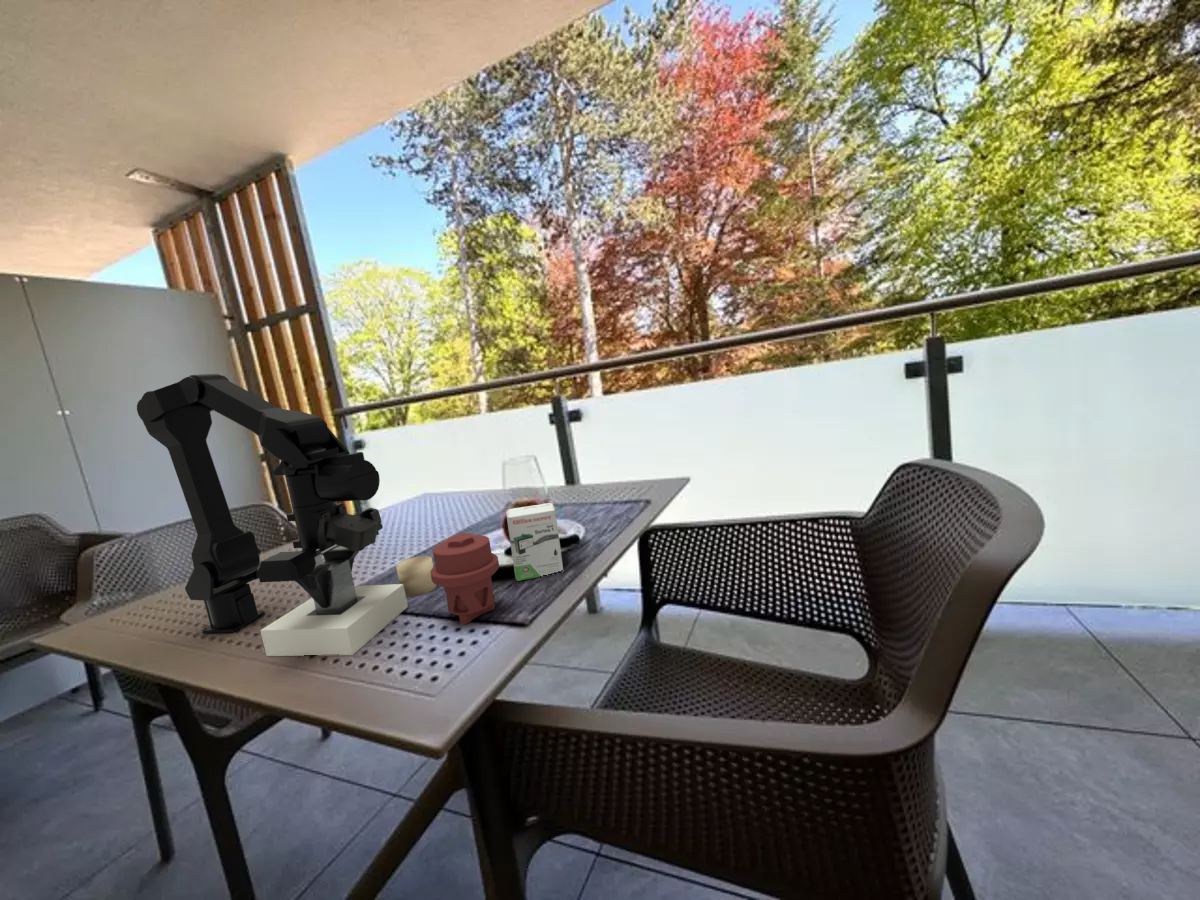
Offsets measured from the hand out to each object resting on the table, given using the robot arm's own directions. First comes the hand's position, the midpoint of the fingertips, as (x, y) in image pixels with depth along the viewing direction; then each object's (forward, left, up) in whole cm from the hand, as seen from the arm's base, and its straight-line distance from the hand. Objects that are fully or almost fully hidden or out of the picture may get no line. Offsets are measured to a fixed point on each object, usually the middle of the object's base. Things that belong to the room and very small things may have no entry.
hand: (335, 600), depth 78 cm
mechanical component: (+20, +4, -5) cm, 21 cm away
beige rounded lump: (+5, +14, -5) cm, 16 cm away
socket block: (0, 0, -5) cm, 5 cm away
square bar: (0, 0, -3) cm, 3 cm away
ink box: (+26, +19, -5) cm, 33 cm away
